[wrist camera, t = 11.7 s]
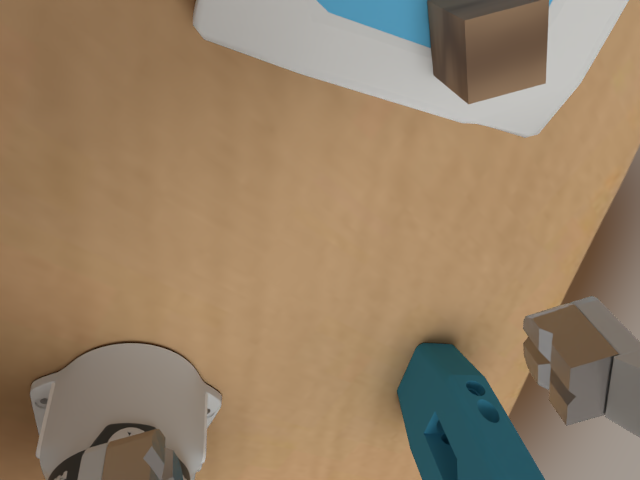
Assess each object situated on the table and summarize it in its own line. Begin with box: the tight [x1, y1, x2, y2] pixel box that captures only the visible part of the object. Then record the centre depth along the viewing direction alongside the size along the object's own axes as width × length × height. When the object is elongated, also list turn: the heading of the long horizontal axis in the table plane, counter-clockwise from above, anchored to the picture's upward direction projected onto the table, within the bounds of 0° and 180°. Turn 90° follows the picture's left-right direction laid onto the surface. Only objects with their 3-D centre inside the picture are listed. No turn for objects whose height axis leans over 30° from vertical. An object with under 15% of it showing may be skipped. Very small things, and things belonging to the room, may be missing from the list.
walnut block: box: [427, 0, 549, 104], centre depth 35 cm, size 5×5×6 cm
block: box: [397, 343, 545, 480], centre depth 56 cm, size 12×5×20 cm, turn 166°
